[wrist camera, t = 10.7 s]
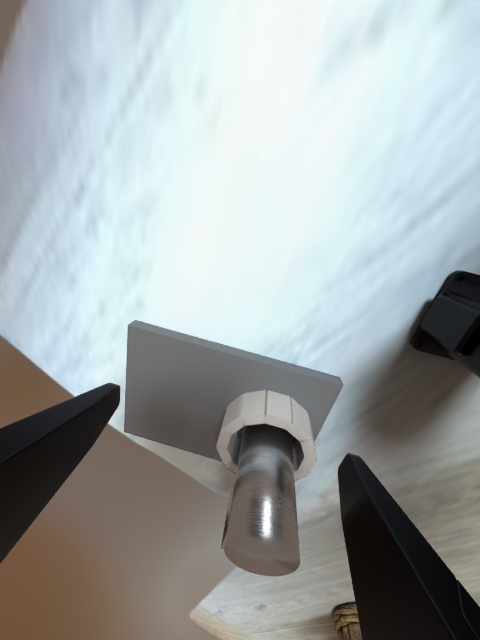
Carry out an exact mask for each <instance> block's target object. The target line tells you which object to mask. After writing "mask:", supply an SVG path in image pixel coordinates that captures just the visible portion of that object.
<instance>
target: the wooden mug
mask: <svg viewBox="0 0 480 640" xmlns="http://www.w3.org/2000/svg"><path fill="white" fill-rule="evenodd" d="M334 621H335V628H336V632H337V634H338V635H339V636H340V640H362V637H361V631H360V625H359V619H358V613H357V607H356V603H347V604H343V605H342V606H338V607H337V608H336V609H335V612H334Z"/></svg>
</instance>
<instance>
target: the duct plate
mask: <svg viewBox="0 0 480 640" xmlns="http://www.w3.org/2000/svg"><path fill="white" fill-rule="evenodd" d="M342 387H343V384H342V381H341V379H340V377H337V376H333V375H330V374H326V373H323V372H319V371H315V370H312V369H308V368H305V367H301V366H297V365H294V364H290V363H287V362H283V361H280V360H276V359H272V358H269V357H265V356H262V355H258V354H255V353H251V352H247V351H244V350H240V349H237V348H233V347H229V346H226V345H222V344H219V343H215V342H212V341H208V340H204V339H201V338H197V337H194V336H190V335H187V334H183V333H179V332H176V331H172V330H169V329H165V328H161V327H158V326H154V325H151V324H147V323H144V322H140V321H136V320H135V321H133V322H132V323H130V324H129V325H128V338H127V366H126V394H125V422H124V432H126V433H130V434H133V435H136V436H139V437H143V438H146V439H149V440H153V441H156V442H159V443H162V444H166V445H169V446H172V447H176V448H179V449H182V450H185V451H189V452H192V453H195V454H199V455H202V456H205V457H209V458H212V459H215V460H218V461H222V462H223V464H225V466H226V467H227V468H228V469H230V470H231V471H232V472H233V473H235V474H236V472H237V466H238V460H239V453H240V447H241V441H242V435H243V428H244V426H246V425H255V424H264V423H266V424H269V425H272V426H276V427H279V428H283V429H286V430H287V431H288V432H289V433H291V435H292V450H293V465H294V480H295V481H297V480H299V479H301V478H303V477H305V476H307V474H309V472H310V470H311V468H312V466H313V465H314V463H315V461H316V457H317V456H316V450H315V444H314V441H315V439H316V437H317V436H318V434H319V432H320V430H321V428H322V426H323V424H324V422H325V420H326V418H327V416H328V414H329V412H330V410H331V408H332V406H333V404H334V403H335V401H336V399H337V397H338V395H339V393H340V391H341V389H342Z"/></svg>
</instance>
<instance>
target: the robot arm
mask: <svg viewBox="0 0 480 640" xmlns="http://www.w3.org/2000/svg"><path fill="white" fill-rule="evenodd" d="M460 275H461V276H462V277H461V279H460V280H458V281H457V278H458V277H459V276H460ZM418 342H421V343H420V344H419V345H416V344H417V343H418ZM410 344H411V346H412V347H413V348H414V349H416V350H419V351H423V352H427V353H430V354H434V355H438V356H442V357H445V358H449V359H453V360H456V361H458V362H459V363H461V364H462V365H463V366H465V367H466V368H467V369H469V370H470V371H471V372H473V373H474V374H475V375H477V376H478V377H479V378H480V275H477V274H473V273H469V272H465V271H460V270H458V271H455V272H454V273H452V274H451V275H450V277H449V279H448V280H447V282H446V284H445V285H444V287H443V289H442V290H441V292H440V294H439V295H438V296H437V297H436V299H435V300H434V302H433V304H432V305H431V307H430V309H429V310H428V312H427V314H426V315H425V317H424V319H423V320H422V322H421V324H420V327H419V328H418V330H417V332H416V333H415V335H414V337H413V338H412V340H411V342H410ZM119 403H120V386H119V385H116V384H113V383H107V384H105V385H102V386H100V387H97V388H95V389H93V390H90V391H88V392H86V393H83V394H81V395H78V396H76V397H74V398H71V399H69V400H67V401H64V402H62V403H59V404H57V405H55V406H52V407H50V408H48V409H45V410H43V411H40V412H38V413H36V414H33V415H31V416H29V417H26V418H24V419H21V420H19V421H17V422H14V423H12V424H10V425H7V426H5V427H3V428H0V563H1V562H2V561H3V560H4V558H5V557H6V556H7V554H8V553H9V552H10V550H11V549H12V548H13V547H14V546H15V544H16V543H17V542H18V540H19V539H20V538H21V537H22V535H23V534H24V533H25V531H26V530H27V529H28V528H29V526H30V525H31V524H32V523H33V521H34V520H35V519H36V517H37V516H38V515H39V514H40V512H41V511H42V510H43V509H44V507H45V506H46V505H47V503H48V502H49V501H50V500H51V498H52V497H53V496H54V494H55V493H56V492H57V491H58V489H59V488H60V487H61V486H62V484H63V483H64V482H65V480H66V479H67V478H68V477H69V475H70V474H71V473H72V472H73V470H74V469H75V468H76V466H77V465H78V464H79V463H80V461H81V460H82V459H83V457H84V456H85V455H86V454H87V452H88V451H89V450H90V448H91V447H92V446H93V445H94V443H95V442H96V440H97V439H98V437H99V436H100V434H101V432H102V431H103V429H104V428H105V426H106V425H107V423H108V422H109V420H110V418H111V417H112V415H113V414H114V412H115V411H116V409H117V407H118V405H119ZM338 482H339V495H340V507H341V518H342V526H343V532H344V538H345V543H346V549H347V555H348V561H349V567H350V573H351V578H352V584H353V590H354V596H355V602H356V607H357V613H358V619H359V625H360V631H361V637H362V640H480V607H479V606H478V604H477V603H476V602H475V601H474V599H473V598H472V597H471V596H470V594H469V593H468V592H467V591H466V589H465V588H464V587H463V586H462V584H461V583H460V582H459V581H458V580H456V578H455V576H454V574H453V573H452V572H451V571H450V569H449V568H448V567H447V566H446V564H445V563H444V562H443V561H442V559H441V558H440V557H439V556H438V554H437V553H436V552H435V551H434V549H433V548H432V547H431V545H430V544H429V543H428V542H427V540H426V539H425V538H424V537H423V535H422V534H421V533H420V532H419V530H418V529H417V528H416V527H415V525H414V524H413V523H412V522H411V520H410V519H409V518H408V517H407V515H406V514H405V513H404V511H403V510H402V509H401V508H400V506H399V505H398V504H397V503H396V501H395V500H394V499H393V498H392V496H391V495H390V494H389V493H388V491H387V490H386V489H385V488H384V486H383V485H382V484H381V483H380V481H379V480H378V479H377V477H376V476H375V475H374V474H373V472H372V471H371V470H370V469H369V467H368V466H367V465H366V464H365V462H364V461H363V460H362V459H361V458H360V457H359V456H357V455H354V454H350V453H348V454H347V455H346V456H345V458H344V459H343V461H342V462H341V464H340V466H339V468H338Z"/></svg>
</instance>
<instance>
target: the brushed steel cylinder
mask: <svg viewBox="0 0 480 640" xmlns="http://www.w3.org/2000/svg"><path fill="white" fill-rule="evenodd" d="M221 548H223V549H224V551H225V554H226V556H227V557H228V559H229V560H230V561H231V562H232V563H234V564H235V565H237V566H238V567H240V568H242V569H244V570H246V571H249V572H252V573H255V574H259V575H265V576H282V575H287V574H290V573H292V572H294V571H295V570H296V569H297V568H298V567H299V565H300V555H299V540H298V525H297V510H296V495H295V480H294V465H293V450H292V435H291V433H289V432H288V431H287V430H286V429H283V428H279V427H276V426H272V425H269V424H266V423H264V424H255V425H246V426H244V428H243V435H242V441H241V447H240V453H239V460H238V466H237V472H236V478H235V484H234V487H233V490H232V493H231V496H230V499H229V503H228V509H227V515H226V521H225V527H224V533H223V539H222V544H221Z"/></svg>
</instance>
